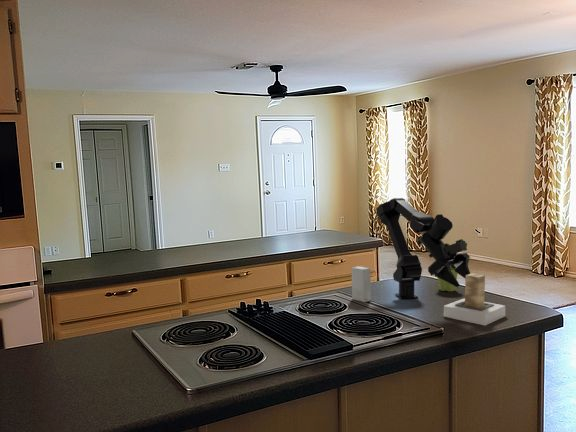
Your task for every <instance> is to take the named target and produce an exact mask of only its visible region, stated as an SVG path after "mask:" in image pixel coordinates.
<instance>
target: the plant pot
mask: <svg viewBox="0 0 576 432" xmlns="http://www.w3.org/2000/svg"><path fill="white" fill-rule="evenodd" d="M454 270H455V269H454V268H452V267H451V272H452V273H453V275H454V276H455V278H456V280H457V279H458V275H459V274H458V273H457V272H455V271H454ZM436 278H437V284H438V290H439V291H442V292H446V291H447V292H455V290H456V288H457V287H456V286H454V285H452V284H450V283H448V282H446V281H444V280H442V279H440V278H438V277H436ZM457 281H458V280H457Z"/></svg>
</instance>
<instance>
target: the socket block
mask: <svg viewBox="0 0 576 432" xmlns="http://www.w3.org/2000/svg"><path fill="white" fill-rule="evenodd" d="M443 317H445V318H449V319H454V320H458V321H463V322H467V323H471V324H477V325H481V326H488V325H489V324H492V323H494V322H495V321H498V320H500V319H503V318H505V317H506V305H504V304H497V303H493V302H489V301H488V302H487V301H484V307H481V308H475V307H470V306H465V297H464V298H461V299H458V300H456V301H454V302H451V303H447V304H445V305H443Z"/></svg>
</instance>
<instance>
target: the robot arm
mask: <svg viewBox="0 0 576 432" xmlns="http://www.w3.org/2000/svg"><path fill="white" fill-rule="evenodd" d="M376 215H377V217H378V219H379V221H380V222H381V223H382V224H383V225H384V226H386V229H387V231H388V234H389V237H390V240H391V243H392V245H393V248H394V251H395V253H396V257H397V262H396V265H395V266H396V269H395V270H394V272H393V274H392V277H393V281H395V282H398V293H395V294H394V295H395V296H396V297H398V298H399V299H402V300H406V299H407V300H409V299H418V298H419V295H418V296H417V295H416V294H415V282H417V281H418V282H419V281H420V280H421V276H422V273H423V268H422V263H421V261H420V259H419V256H418V255H417V254H412V253H411V251H410V248H409V246H408V243H407V240H406V237H405V235H404V233H403V230H402V227H401V224H400V222H399V221H400V218H401V216H402V217H403V218H404V219H406V221H408V223H409V227H410V228H411V229H412V231H413V232H414V233H416V234H422V235H420V236H418V237H417V245H418V246H420V245H423V247H424V248H425V249H426V250H427V251H428V252H429V254H428V256H429V258H433V259H434V261H433V262H432V263H431V264H430V265H429V266H428V267H427V272H428V273H429V275H430V276H434V277H435V278H437V277H438V278H440V279H442V280H444V281H446V282H448V283H450V284H452V285H454V286H456V287H455V288H459V287H460V285H461V284H460V283H459V281H458V280H456V278H455V276H454V275H453V273H452V272H451V267H452V268H454V269H455V270H454V271H455V272H457V273H458V274H457V275H460V276H461V277H462V278H463V279H465V276H466V275H468V274H472V273H471V271H470V268H469V262H470V258H471V256H470V255H469V254H468V253H467V252H463V251H467V250H468V248H467V246H468V243H467V242H466V240H464V239H462V238H460V239H458V240H455V243H452V244H449V243H445V242H443V239H445V237H446V236H447V235H448V234H449V233H450V231H451V230H452V229H453V227H454V226H453V222H452V221H451V220H450V219H449V218H448V217H445V216H444V215H443V214H441V213H439V214H436V215H435V217H433V216H432V215H429V214H426V213H423V212H420V211H418V210H417V209H416V208H415V207H414V206H412V205H411V204H410V203H409V202H407V201H406V199H405V198H403V197H393V198H391V199H390V200H388V201H386V202H382V203H381V204H379V205H378V207H376Z"/></svg>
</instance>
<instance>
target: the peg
mask: <svg viewBox="0 0 576 432" xmlns="http://www.w3.org/2000/svg"><path fill="white" fill-rule="evenodd" d="M464 279H465V281H464V283H465V285H464V287H465V289H464V292H465V293H464V298H465V306H470V307H475V308H481V307H484V302H485V297H486V296H485V295H486V294H485V289H486V288H485V287H486V276H485V274H478V273H474V272H473V273H471V274H468V275H466V276H465V278H464Z"/></svg>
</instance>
